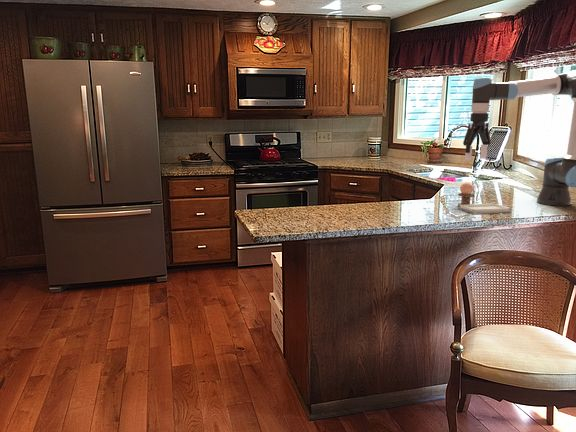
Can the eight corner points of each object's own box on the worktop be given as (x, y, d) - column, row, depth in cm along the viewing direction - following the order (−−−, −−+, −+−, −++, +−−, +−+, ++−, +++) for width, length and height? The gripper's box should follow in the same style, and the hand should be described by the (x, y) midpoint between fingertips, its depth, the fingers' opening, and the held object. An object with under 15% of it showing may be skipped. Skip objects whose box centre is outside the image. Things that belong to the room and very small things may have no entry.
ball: (468, 193, 242) (469, 181, 241) (475, 195, 236) (476, 183, 235) (457, 194, 241) (458, 182, 240) (463, 196, 235) (464, 183, 234)
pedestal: (467, 204, 244) (468, 192, 243) (475, 207, 237) (476, 194, 236) (455, 205, 242) (455, 192, 241) (462, 207, 236) (463, 195, 234)
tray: (495, 207, 237) (495, 203, 236) (510, 212, 225) (511, 208, 225) (459, 208, 233) (459, 204, 233) (472, 213, 222) (473, 209, 221)
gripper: (485, 112, 235) (481, 157, 240) (457, 112, 219) (453, 160, 224) (500, 112, 230) (496, 158, 234) (473, 112, 214) (468, 161, 218)
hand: (475, 159), depth 229 cm, fingers open, 13 cm apart
